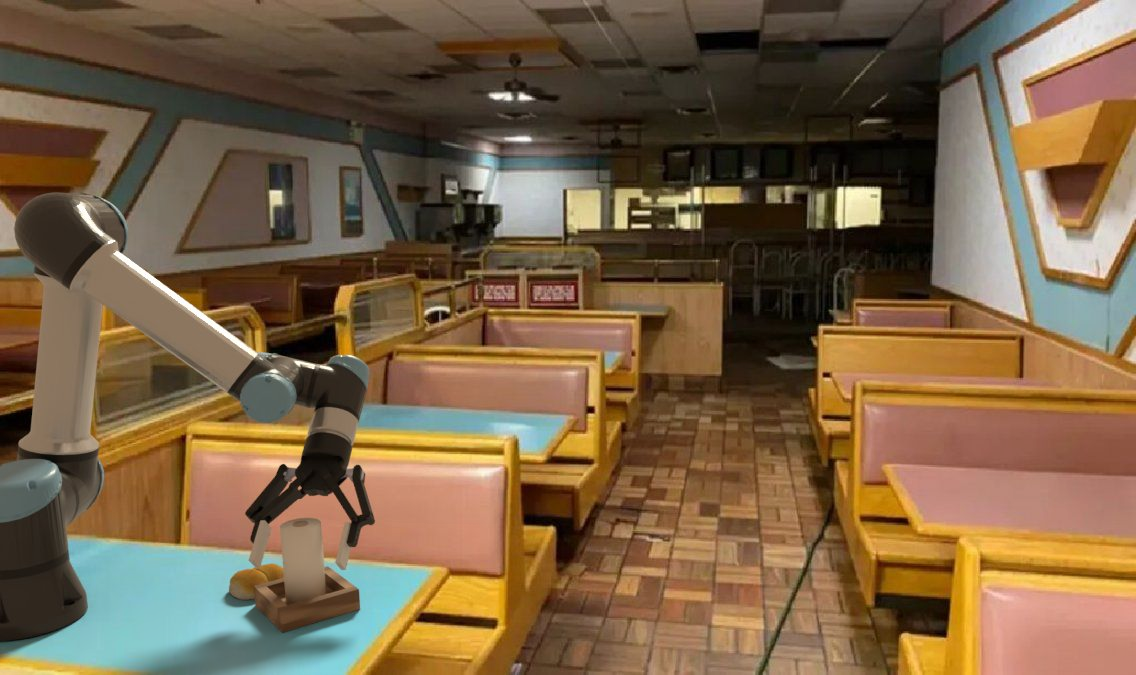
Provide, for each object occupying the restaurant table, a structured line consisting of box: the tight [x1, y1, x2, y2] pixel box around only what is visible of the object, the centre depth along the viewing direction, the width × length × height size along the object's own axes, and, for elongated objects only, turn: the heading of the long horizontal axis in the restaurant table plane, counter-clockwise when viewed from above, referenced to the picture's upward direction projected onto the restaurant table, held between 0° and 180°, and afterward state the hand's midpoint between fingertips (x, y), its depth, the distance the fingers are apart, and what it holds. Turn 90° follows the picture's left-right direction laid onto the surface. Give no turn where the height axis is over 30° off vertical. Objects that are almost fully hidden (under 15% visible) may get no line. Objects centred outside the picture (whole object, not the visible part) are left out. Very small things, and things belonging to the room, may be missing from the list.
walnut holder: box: [254, 565, 361, 633], centre depth 142 cm, size 12×12×3 cm
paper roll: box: [279, 517, 326, 605], centre depth 141 cm, size 6×6×12 cm
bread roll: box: [228, 563, 284, 601], centre depth 150 cm, size 8×9×4 cm
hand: (297, 565), depth 139 cm, fingers open, 13 cm apart
